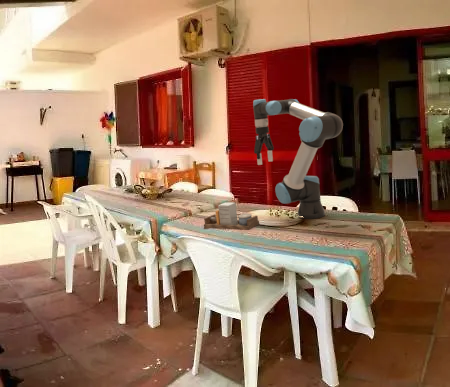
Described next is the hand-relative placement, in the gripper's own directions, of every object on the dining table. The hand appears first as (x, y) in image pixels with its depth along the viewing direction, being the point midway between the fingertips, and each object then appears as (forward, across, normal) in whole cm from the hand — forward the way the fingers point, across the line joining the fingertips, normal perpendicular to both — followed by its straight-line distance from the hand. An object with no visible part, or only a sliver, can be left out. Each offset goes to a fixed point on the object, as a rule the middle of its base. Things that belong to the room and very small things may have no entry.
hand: (265, 163), depth 258 cm
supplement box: (+31, -27, +12) cm, 43 cm away
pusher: (+31, -27, +17) cm, 44 cm away
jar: (+31, -27, +2) cm, 41 cm away
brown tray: (+32, -27, +11) cm, 43 cm away
